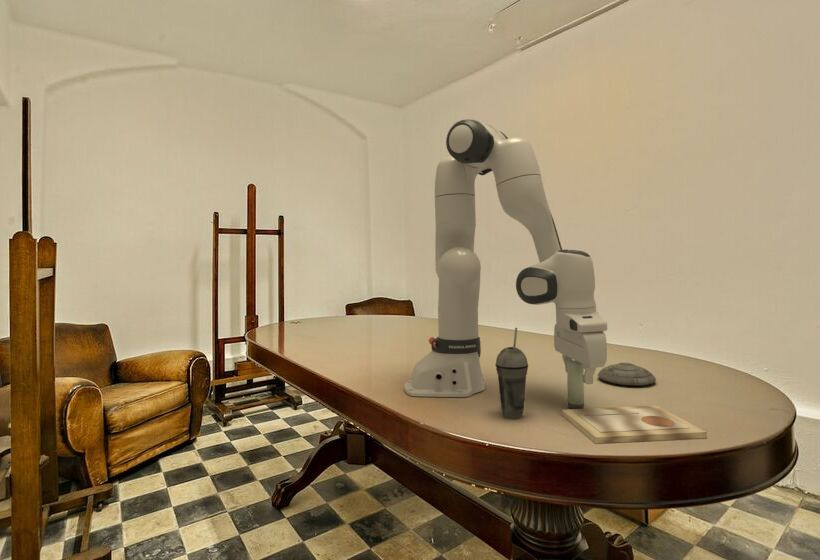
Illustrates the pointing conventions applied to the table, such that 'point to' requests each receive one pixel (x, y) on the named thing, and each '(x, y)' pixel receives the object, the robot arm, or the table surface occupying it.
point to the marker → (575, 385)
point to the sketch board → (631, 424)
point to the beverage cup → (512, 380)
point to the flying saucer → (626, 374)
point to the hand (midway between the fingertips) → (578, 377)
